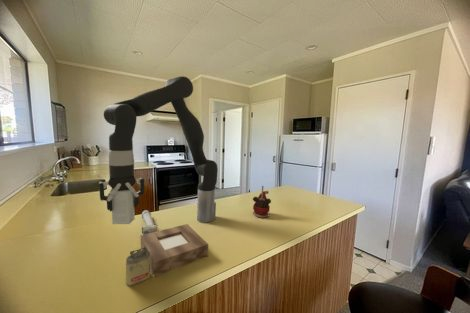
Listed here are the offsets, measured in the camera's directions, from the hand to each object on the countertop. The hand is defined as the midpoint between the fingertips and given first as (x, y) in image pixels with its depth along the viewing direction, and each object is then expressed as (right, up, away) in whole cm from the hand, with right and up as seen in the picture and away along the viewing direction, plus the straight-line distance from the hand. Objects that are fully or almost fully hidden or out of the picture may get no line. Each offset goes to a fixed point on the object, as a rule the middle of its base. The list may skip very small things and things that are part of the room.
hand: (123, 208), depth 70 cm
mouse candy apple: (+56, -17, +47) cm, 75 cm away
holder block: (+16, -19, +8) cm, 26 cm away
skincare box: (0, -5, +1) cm, 5 cm away
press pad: (+16, -16, +7) cm, 24 cm away
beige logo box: (+9, -21, -7) cm, 24 cm away
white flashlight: (-6, -14, +25) cm, 29 cm away
